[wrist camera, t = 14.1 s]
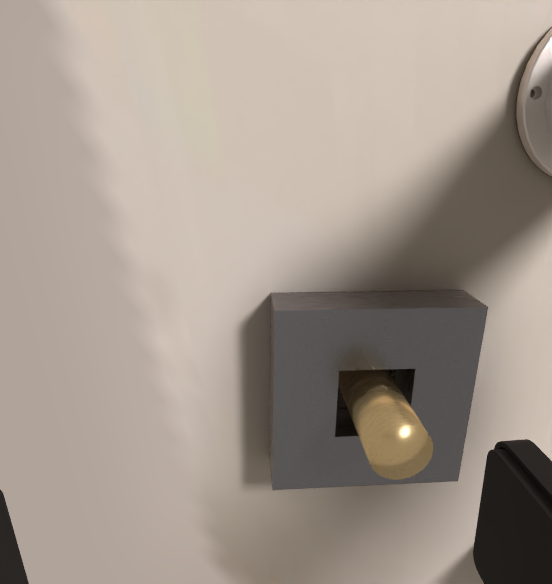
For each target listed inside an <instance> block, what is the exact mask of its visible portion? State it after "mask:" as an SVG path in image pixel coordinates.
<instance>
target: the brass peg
mask: <svg viewBox="0 0 552 584" xmlns="http://www.w3.org/2000/svg"><path fill="white" fill-rule="evenodd" d="M338 386H339V388H340V391H341V393H342V396H343V398H344V401H345V403H346V406H347V408H348V411H349V413H350V416H351V418H352V421H353V423H354V426H355V428H356V431H357V433H358V436H359V438H360V441H361V443H362V446H363V448H364V451H365V453H366V455H367V458H368V460H369V463H370V465H371V467H372V469H373V470H374V471H375V472H376V473H377V474H378V475H380V476H382V477H384V478H387V479H393V480H399V479H405V478H409V477H411V476H414V475H416V474H417V473H419V472H420V471H421V470H423V469H424V468H425V467H426V466H427V464H428V463H429V461H430V459H431V457H432V454H433V442H432V439H431V437H430V436H429V434H428V432H427V431H426V429H425V428H424V426H423V425H422V423H421V422H420V420H419V418H418V417H417V415H416V414H415V412H414V411H413V409H412V407H411V406H410V404H409V403H408V401H407V400H406V398H405V397H404V395H403V393H402V392H401V390H400V389H399V387H398V386H397V384H396V383H395V381H394V379H393V378H392V376H391V375H390V373H389V372H388V370H387V369H385V370H349V371H339V382H338Z"/></svg>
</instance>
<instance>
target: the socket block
mask: <svg viewBox="0 0 552 584" xmlns="http://www.w3.org/2000/svg"><path fill="white" fill-rule="evenodd" d="M487 310H488V307H487V306H486V305H484V304H483V303H481V302H480V301H478V300H477V299H475V298H474V297H472V296H471V295H469V294H468V293H466V292H465V291H463V290H440V291H369V292H298V293H271V343H270V468H271V479H272V489H273V490H281V489H302V488H323V487H344V486H364V485H385V484H406V483H427V482H447V481H458V477H459V471H460V466H461V460H462V454H463V448H464V443H465V437H466V431H467V425H468V420H469V414H470V408H471V402H472V397H473V391H474V385H475V379H476V374H477V368H478V362H479V356H480V351H481V345H482V339H483V333H484V328H485V322H486V316H487ZM385 369H396V372H395V383H396V384H397V386H398V387H399V389H400V390H401V392H402V393H403V395H404V397H405V398H406V400H407V401H408V403H409V404H410V406H411V407H412V409H413V411H414V412H415V414H416V415H417V417H418V418H419V420H420V422H421V423H422V425H423V426H424V428H425V429H426V431H427V432H428V434H429V436H430V437H431V439H432V442H433V454H432V457H431V459H430V461H429V463H428V464H427V466H426V467H425V468H424V469H423V470H421V471H420V472H419V473H417V474H416V475H414V476H411V477H409V478H405V479H399V480H393V479H387V478H384V477H382V476H380V475H378V474H377V473H376V472H375V471H374V470H373V469H372V467H371V465H370V463H369V460H368V458H367V455H366V453H365V451H364V448H363V446H362V443H361V441H360V438H359V436H358V433H357V431H356V428H355V426H354V423H353V421H352V418H351V416H350V413H349V411H348V408H339V409H337V397H338V382H339V371H349V370H385Z"/></svg>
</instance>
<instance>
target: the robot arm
mask: <svg viewBox="0 0 552 584" xmlns="http://www.w3.org/2000/svg"><path fill="white" fill-rule="evenodd" d="M530 92H531V96H530ZM516 117H517V124H518V132H519V135H520V138H521V141H522V144H523V147H524V149H525V150H526V152H527V154H528V155H529V157H530V159H531V160H532V161H533V162H534V163H535V164H536V165H537V166H538V167H539V168H540V169H541V170H542V171H543V172H545V173H546V174H548V175H550V176H551V177H552V28H551V29H550V30H549V32H548V33H547V34H546V35H545V37H544V38H543V39H542V40H541V42H540V43H539V44H538V45H537V47H536V49H535V51H534V52H533V54H532V56H531V58H530V59H529V61H528V63H527V66H526V68H525V71H524V74H523V76H522V79H521V83H520V87H519V92H518V97H517V113H516ZM473 556H474V562H475V565H476V568H477V571H478V573H479V575H480V577H481V579H482V580H483V582H484V584H552V461H551V460H550V459H549V458H548V457H547V456H546V455H545V454H544V453H543V452H542V451H541V450H540V449H539V448H538V447H537V446H536V445H535V444H534V443H533V442H532V441H530V440H527V439H526V440H513V441H501V442H498V443H497V444H496V445H495V448H494V450H490V451H489V452H488V455H487V461H486V468H485V475H484V481H483V488H482V495H481V502H480V509H479V515H478V522H477V529H476V536H475V543H474V550H473ZM0 584H28V580H27V576H26V573H25V569H24V566H23V562H22V558H21V555H20V551H19V548H18V544H17V541H16V538H15V534H14V530H13V526H12V523H11V519H10V516H9V512H8V509H7V505H6V502H5V498H4V495H3V493H2V491H1V490H0Z"/></svg>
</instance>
